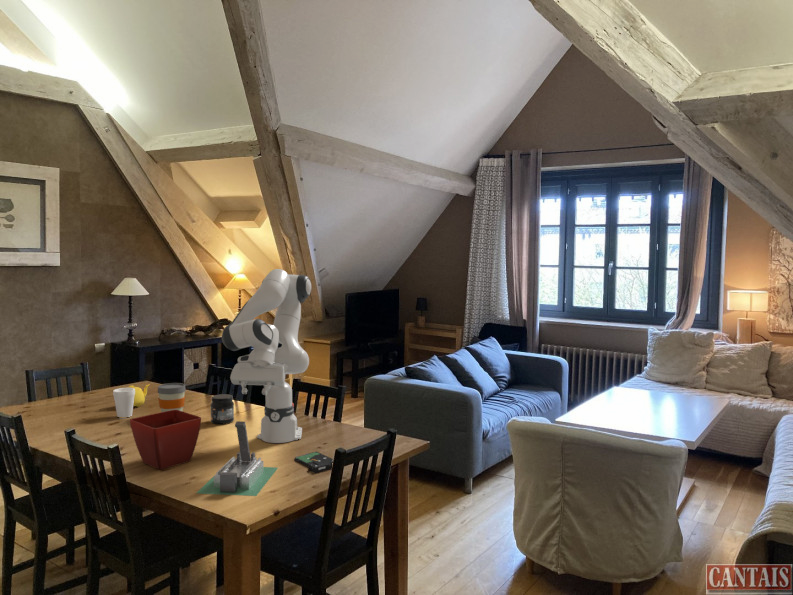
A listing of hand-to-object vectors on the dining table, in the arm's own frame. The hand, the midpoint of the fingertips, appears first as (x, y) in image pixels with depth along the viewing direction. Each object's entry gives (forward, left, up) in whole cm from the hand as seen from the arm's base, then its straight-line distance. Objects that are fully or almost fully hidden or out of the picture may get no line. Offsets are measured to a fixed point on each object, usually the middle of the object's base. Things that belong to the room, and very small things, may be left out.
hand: (254, 393), depth 223 cm
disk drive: (-4, +22, -28) cm, 36 cm away
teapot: (-78, -88, -27) cm, 121 cm away
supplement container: (-56, -33, -27) cm, 70 cm away
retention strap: (+14, 0, -15) cm, 20 cm away
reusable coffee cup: (-62, -60, -27) cm, 90 cm away
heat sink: (+18, 0, -26) cm, 32 cm away
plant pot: (-1, -34, -27) cm, 44 cm away
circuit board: (+16, 0, -27) cm, 32 cm away
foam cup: (-59, -82, -27) cm, 104 cm away
